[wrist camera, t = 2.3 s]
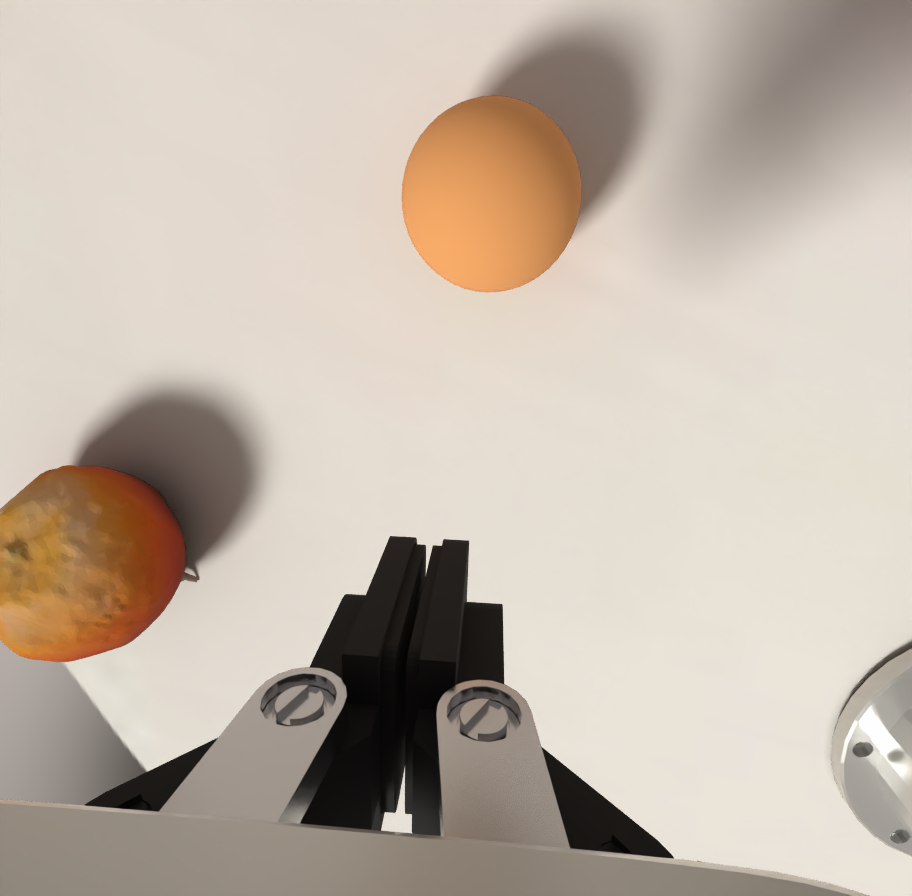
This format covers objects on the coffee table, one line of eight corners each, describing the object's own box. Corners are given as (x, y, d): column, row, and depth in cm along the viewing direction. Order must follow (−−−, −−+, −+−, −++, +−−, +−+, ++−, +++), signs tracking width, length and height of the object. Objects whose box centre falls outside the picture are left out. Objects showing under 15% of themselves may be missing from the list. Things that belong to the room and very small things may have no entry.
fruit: (100, 664, 28) (-82, 690, 20) (95, 510, 30) (-71, 483, 23) (245, 628, 27) (105, 642, 19) (228, 470, 29) (98, 427, 21)
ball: (578, 126, 21) (604, 65, 15) (564, 294, 23) (583, 296, 17) (417, 124, 21) (384, 64, 16) (415, 289, 23) (385, 289, 17)
